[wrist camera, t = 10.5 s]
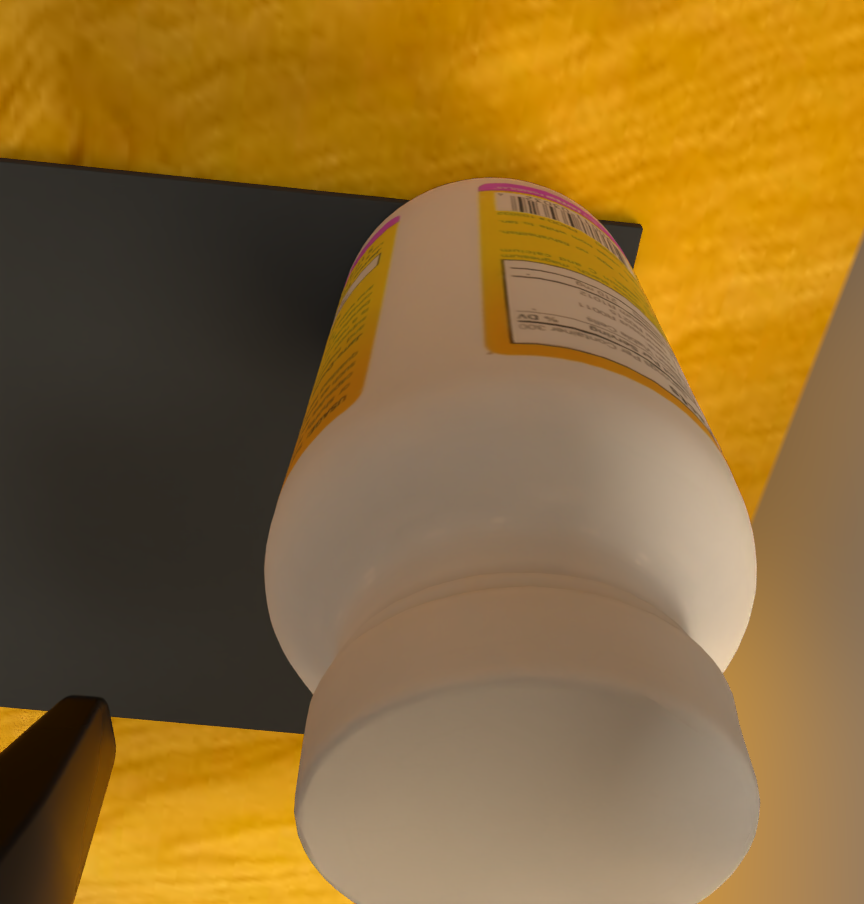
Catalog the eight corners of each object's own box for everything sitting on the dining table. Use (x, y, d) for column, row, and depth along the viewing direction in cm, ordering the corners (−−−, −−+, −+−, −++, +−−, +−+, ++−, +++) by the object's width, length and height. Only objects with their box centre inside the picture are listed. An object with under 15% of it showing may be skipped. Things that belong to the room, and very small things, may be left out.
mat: (641, 223, 18) (643, 227, 18) (518, 746, 28) (518, 754, 28) (-190, 137, 18) (-200, 140, 17) (-17, 697, 27) (-22, 704, 27)
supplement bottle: (395, 461, 21) (322, 1018, 11) (301, 217, 18) (53, 673, 7) (655, 402, 20) (872, 964, 9) (608, 128, 17) (865, 517, 6)
